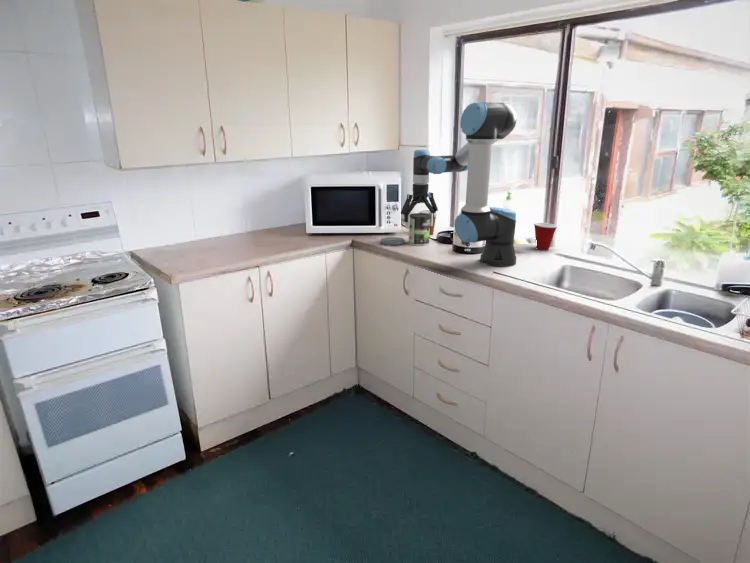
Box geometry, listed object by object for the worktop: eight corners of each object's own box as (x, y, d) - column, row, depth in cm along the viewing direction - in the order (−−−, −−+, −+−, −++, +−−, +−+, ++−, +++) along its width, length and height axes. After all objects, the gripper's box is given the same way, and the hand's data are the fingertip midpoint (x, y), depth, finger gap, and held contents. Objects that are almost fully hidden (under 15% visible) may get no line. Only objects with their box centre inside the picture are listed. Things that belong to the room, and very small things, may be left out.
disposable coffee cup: (421, 236, 261) (422, 213, 257) (415, 232, 270) (416, 210, 266) (438, 235, 263) (439, 212, 259) (432, 231, 272) (433, 209, 268)
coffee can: (433, 242, 249) (434, 214, 244) (422, 246, 241) (423, 217, 236) (415, 239, 255) (416, 212, 250) (404, 243, 247) (404, 215, 242)
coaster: (409, 243, 246) (409, 240, 246) (388, 247, 240) (388, 244, 240) (396, 238, 256) (396, 236, 255) (375, 241, 250) (375, 238, 250)
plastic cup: (559, 250, 234) (563, 225, 231) (540, 252, 231) (542, 226, 227) (545, 245, 244) (548, 220, 240) (526, 246, 241) (528, 222, 237)
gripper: (437, 180, 247) (435, 222, 254) (394, 184, 236) (393, 228, 243) (446, 182, 241) (444, 225, 248) (402, 186, 229) (401, 231, 236)
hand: (419, 227), depth 245 cm, fingers open, 13 cm apart
